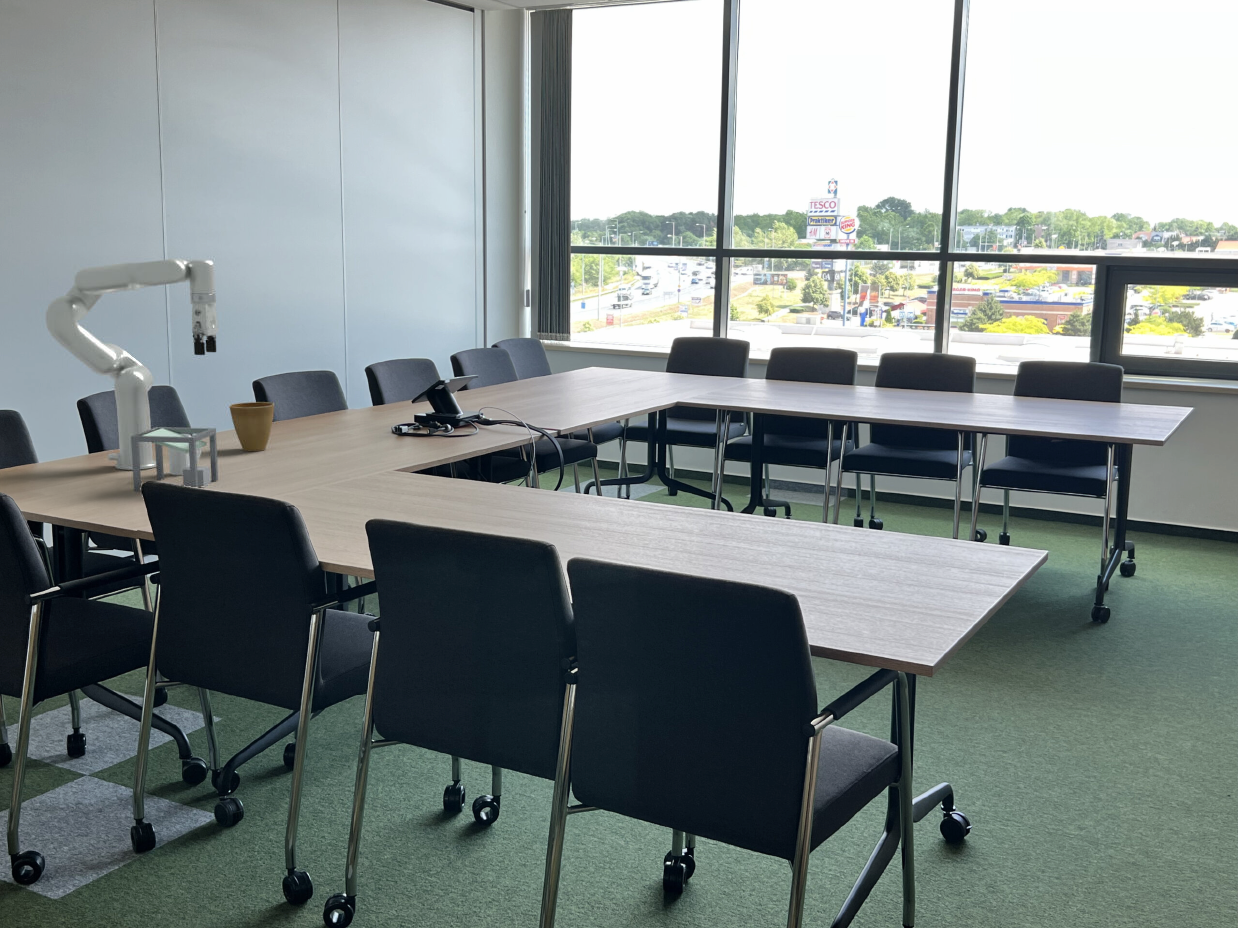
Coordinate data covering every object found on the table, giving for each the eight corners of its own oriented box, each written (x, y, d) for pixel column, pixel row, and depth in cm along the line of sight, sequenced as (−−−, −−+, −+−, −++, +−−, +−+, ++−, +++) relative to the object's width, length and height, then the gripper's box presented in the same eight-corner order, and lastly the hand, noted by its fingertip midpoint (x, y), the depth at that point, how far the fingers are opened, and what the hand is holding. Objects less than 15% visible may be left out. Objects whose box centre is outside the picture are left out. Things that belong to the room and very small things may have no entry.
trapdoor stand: (134, 490, 331) (130, 436, 328) (159, 478, 348) (156, 427, 345) (196, 492, 331) (193, 437, 328) (218, 480, 348) (215, 428, 345)
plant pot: (275, 445, 410) (273, 401, 407) (276, 452, 396) (274, 406, 393) (231, 446, 405) (229, 402, 402) (231, 454, 391) (229, 407, 388)
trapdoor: (141, 439, 330) (141, 435, 330) (161, 431, 344) (161, 428, 343) (188, 453, 330) (188, 450, 330) (206, 445, 344) (206, 442, 344)
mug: (174, 476, 352) (172, 438, 350) (166, 473, 357) (163, 435, 355) (206, 472, 359) (204, 435, 357) (197, 469, 364) (196, 432, 362)
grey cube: (182, 469, 336) (202, 470, 336) (189, 466, 341) (209, 466, 341) (183, 487, 337) (203, 488, 337) (190, 484, 342) (210, 484, 342)
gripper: (204, 300, 353) (207, 356, 356) (224, 298, 370) (226, 351, 373) (180, 300, 353) (183, 355, 356) (201, 298, 370) (204, 351, 373)
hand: (205, 353), depth 364 cm, fingers open, 9 cm apart
